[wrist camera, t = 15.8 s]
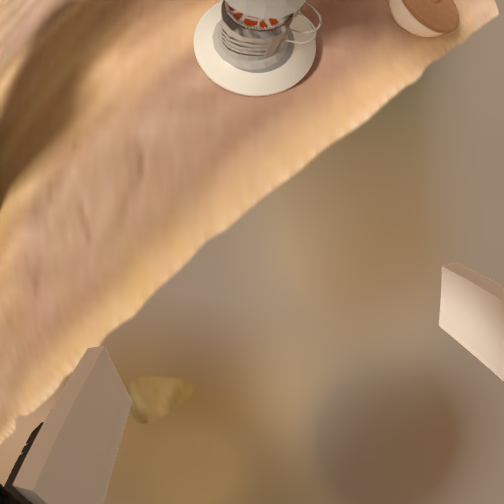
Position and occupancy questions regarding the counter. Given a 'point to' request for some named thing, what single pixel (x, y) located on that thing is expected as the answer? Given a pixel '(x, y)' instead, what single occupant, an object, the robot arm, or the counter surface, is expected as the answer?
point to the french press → (257, 31)
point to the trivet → (257, 80)
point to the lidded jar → (425, 16)
